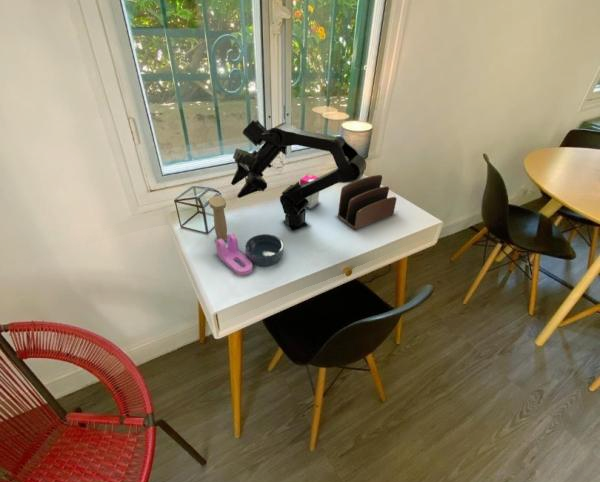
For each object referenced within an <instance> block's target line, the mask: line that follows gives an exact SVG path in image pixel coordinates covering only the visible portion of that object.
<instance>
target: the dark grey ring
mask: <svg viewBox="0 0 600 482" xmlns="http://www.w3.org/2000/svg"><path fill="white" fill-rule="evenodd" d="M245 257H246V258H248V259H249V260H250V261H251V262H252V265H253V266H255V267H261V268H269V267H272V266H276V265H277V264H278V263H279V262H280V261H281V260H282V259H283V258H284V242H283V240H282V239H280V237H279V236H276V235H274V234H269V233H268V234H267V233H262V234H257V235H254V236H252V237H251V238H249V239H248V240H247V241H246V243H245Z"/></svg>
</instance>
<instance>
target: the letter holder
mask: <svg viewBox="0 0 600 482" xmlns="http://www.w3.org/2000/svg"><path fill="white" fill-rule="evenodd" d="M382 181H383V175H382V174H375V175H370V176H366V177H363V178H361V179H356V180H355V181H351V182H349V183H347V184H345V185H344V186H343V187H342V188H341V190H340V197H339V204H338V212H337V218H338V219H340V220H341V221H342V222H344V223H345V224H346V225H348V226H349V227H350V228H352V230H354V231H355V230H358V229H360V228H363V227H365V226H369V225H371V224H374V223H375V222H378V221H381V220H383V219H385V218H386V219H387V218H389V217H391V216H393V215H394V214H395V208H396V205H397V204H396V203H397V197H396V196H392V197H388V195H389V193H390V192H389V191H390V187H389V186H381V185H382Z"/></svg>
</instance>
